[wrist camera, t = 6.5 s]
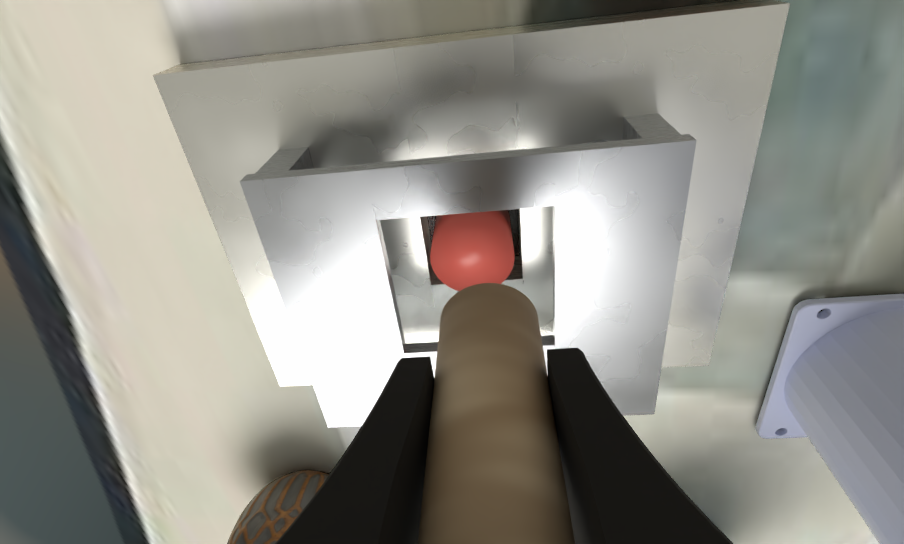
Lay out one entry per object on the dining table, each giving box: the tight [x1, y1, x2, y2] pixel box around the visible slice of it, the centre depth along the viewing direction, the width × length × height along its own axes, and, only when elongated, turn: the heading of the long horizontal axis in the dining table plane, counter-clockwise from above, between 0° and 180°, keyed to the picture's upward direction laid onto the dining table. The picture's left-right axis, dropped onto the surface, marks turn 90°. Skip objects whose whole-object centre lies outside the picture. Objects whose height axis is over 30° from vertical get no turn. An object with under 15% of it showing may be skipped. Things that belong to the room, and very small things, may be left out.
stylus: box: [418, 283, 575, 544], centre depth 9 cm, size 2×2×8 cm
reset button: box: [430, 210, 515, 291], centre depth 18 cm, size 3×3×2 cm
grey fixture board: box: [153, 0, 790, 428], centre depth 17 cm, size 18×13×4 cm
